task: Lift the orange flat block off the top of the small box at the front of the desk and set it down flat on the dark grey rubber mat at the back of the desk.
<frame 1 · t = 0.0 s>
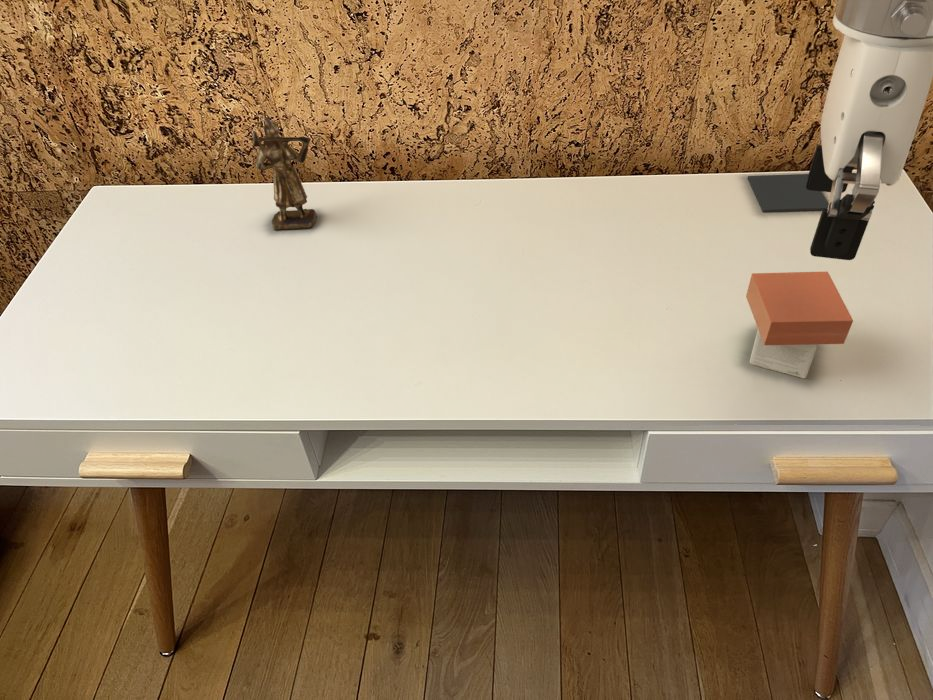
hand: (827, 221, 60), 19 cm above the table, tool pointing down, fingers open, 9 cm apart
mat: (787, 193, 97), on the table
small box: (780, 356, 76), on the table, touching orange flat block
figurine: (300, 223, 100), on the table
orange flat block: (792, 319, 72), point 5 cm above the table, touching small box
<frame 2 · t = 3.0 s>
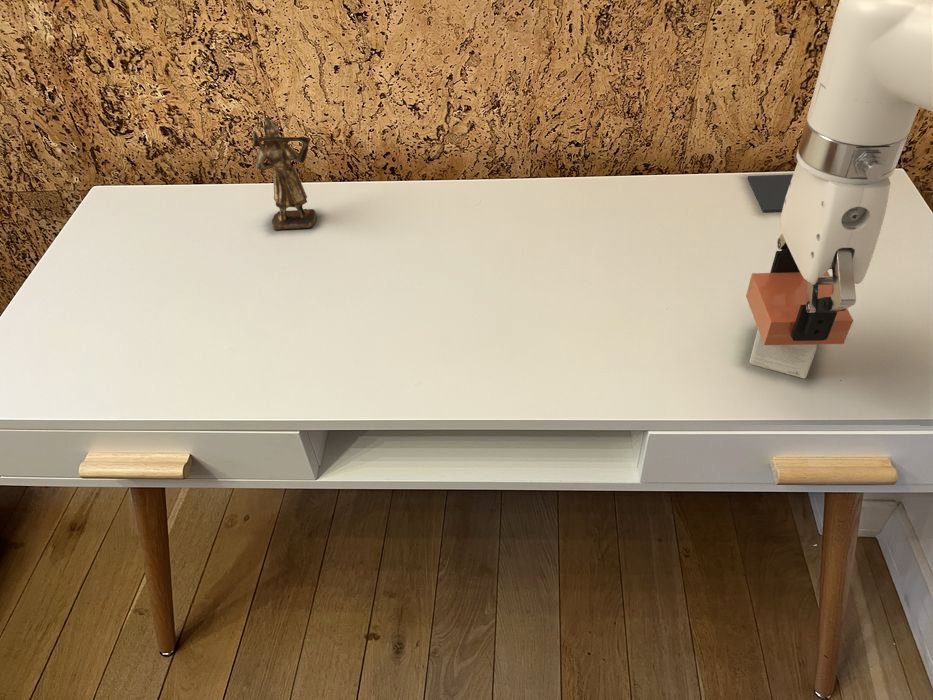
hand: (795, 309, 72), 6 cm above the table, tool pointing down, fingers closed on orange flat block, 7 cm apart
orange flat block: (792, 319, 72), point 5 cm above the table, touching gripper, small box
everything else where it was.
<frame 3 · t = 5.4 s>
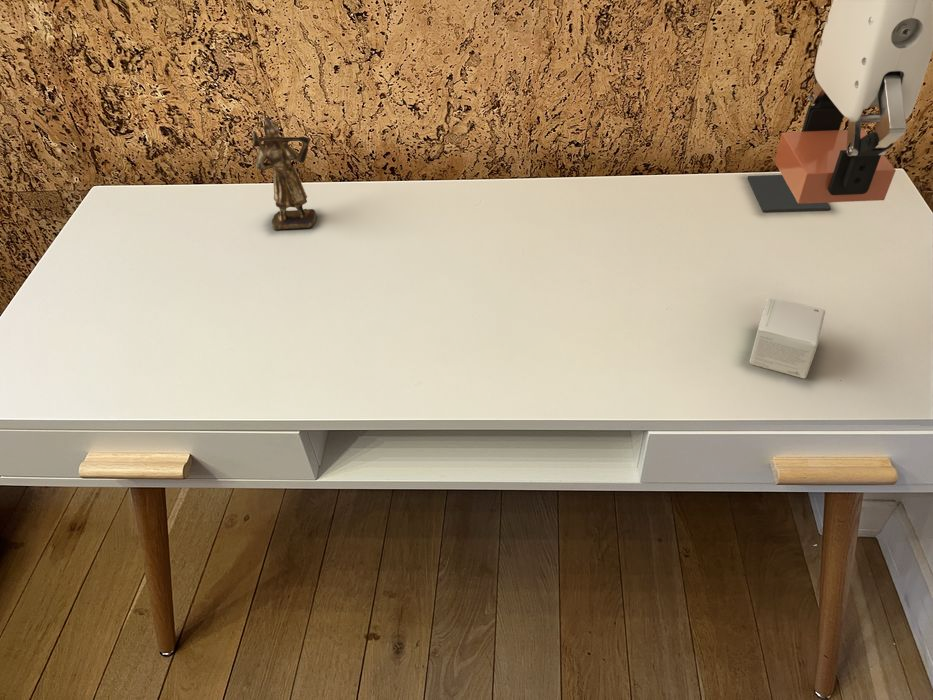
hand: (830, 167, 66), 19 cm above the table, tool pointing down, fingers closed on orange flat block, 7 cm apart
small box: (780, 356, 76), on the table
orange flat block: (826, 180, 67), point 18 cm above the table, touching gripper
everything else where it was.
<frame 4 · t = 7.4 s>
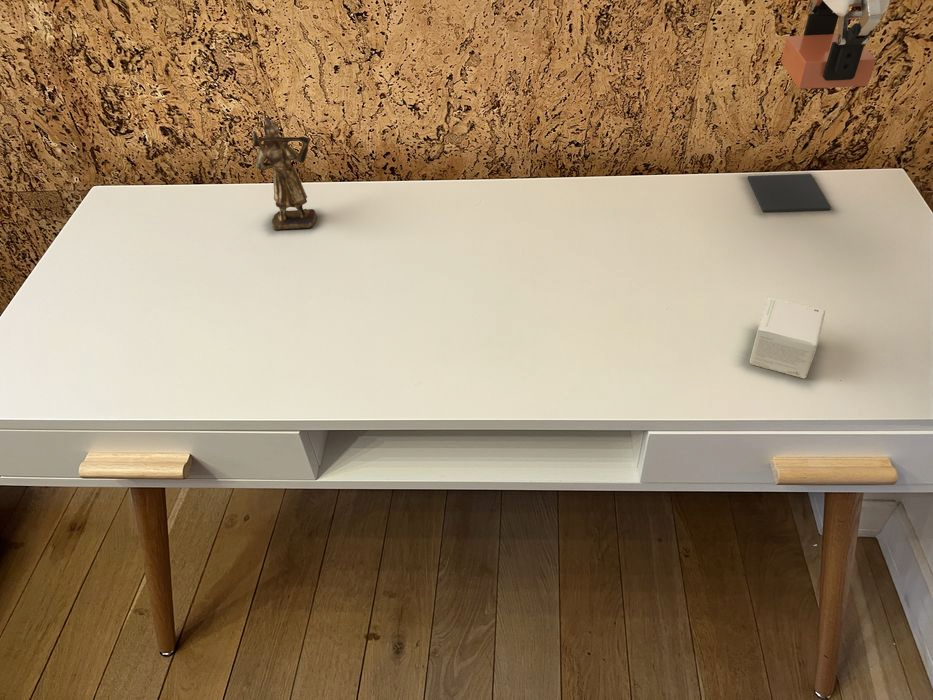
hand: (826, 62, 83), 18 cm above the table, tool pointing down, fingers closed on orange flat block, 7 cm apart
orange flat block: (822, 73, 84), point 17 cm above the table, touching gripper
everything else where it was.
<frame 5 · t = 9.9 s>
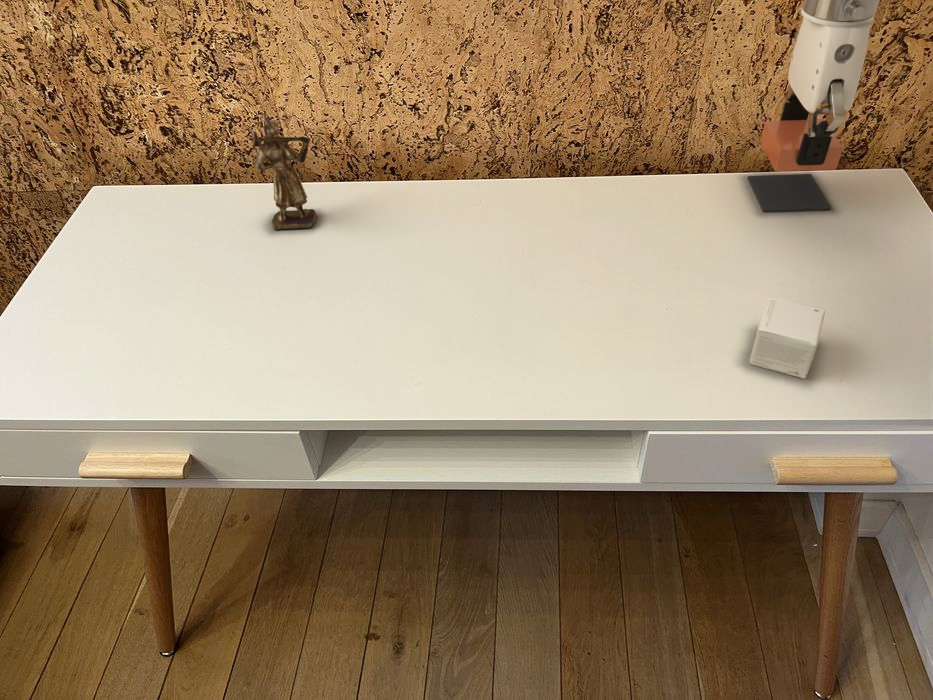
hand: (799, 146, 93), 7 cm above the table, tool pointing down, fingers closed on orange flat block, 7 cm apart
orange flat block: (796, 155, 93), point 6 cm above the table, touching gripper
everything else where it was.
when the fingers open (2 cm above the table, at t = 11.9 s): orange flat block stays where it is, resting on mat.
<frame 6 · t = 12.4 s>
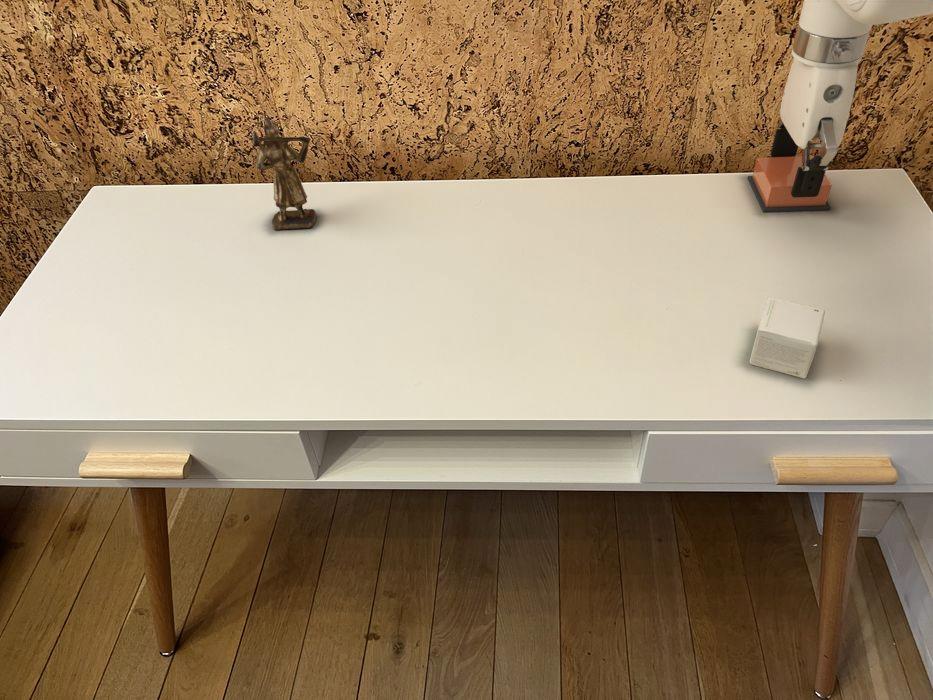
hand: (792, 175, 95), 3 cm above the table, tool pointing down, fingers open, 9 cm apart
orange flat block: (787, 191, 97), resting on mat
everything else where it was.
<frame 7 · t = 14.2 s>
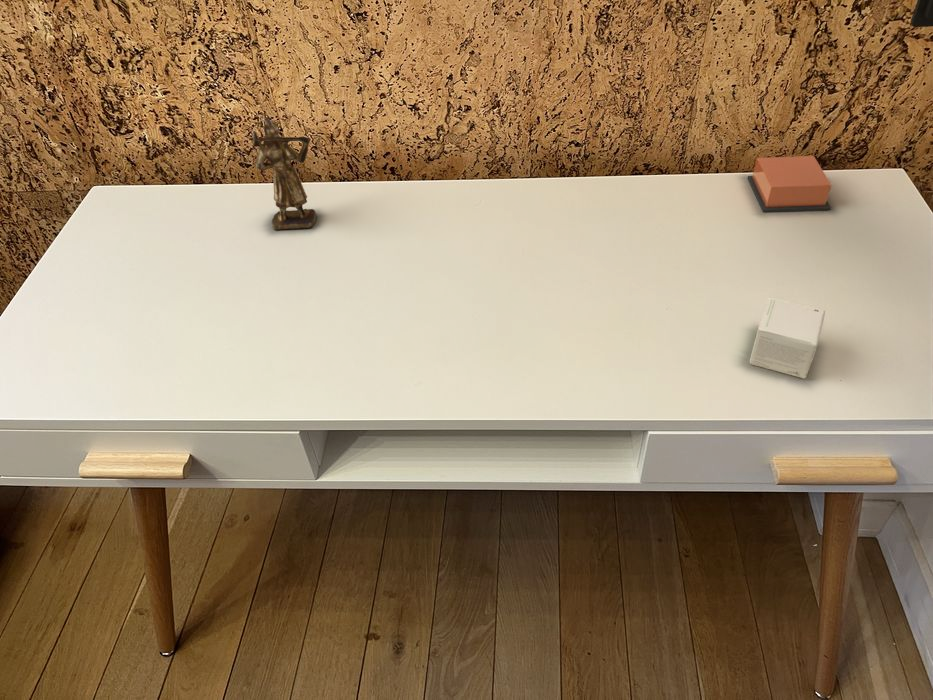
hand: (906, 9, 76), 25 cm above the table, tool pointing down, fingers open, 9 cm apart
nothing on the table moved.
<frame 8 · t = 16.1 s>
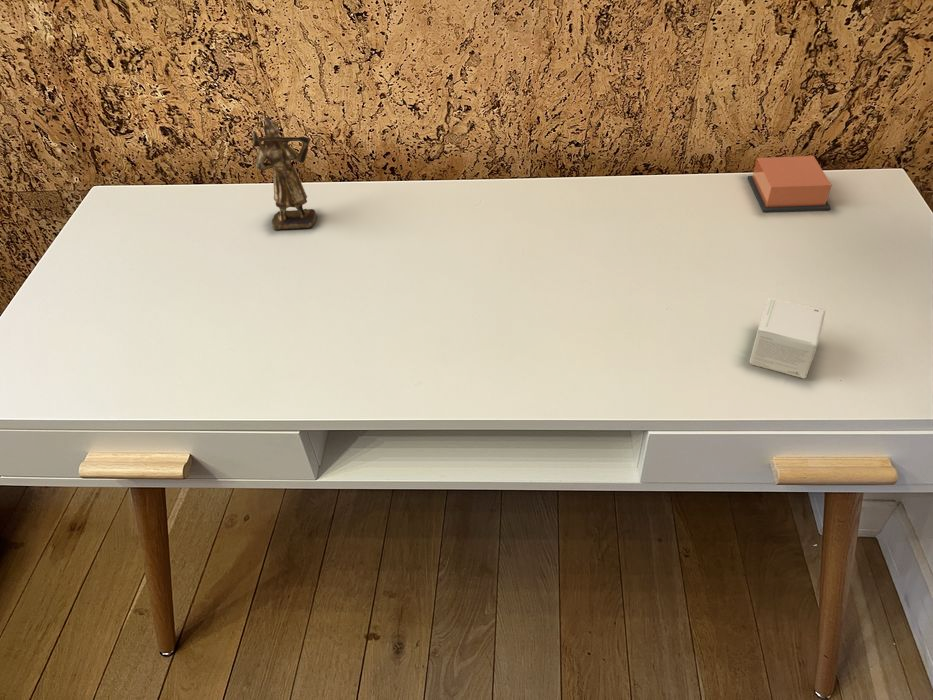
nothing on the table moved.
at the end: orange flat block 0.0 cm off-centre on the mat, point 0.4 cm above the mat's base; orange flat block touching mat; small box moved 0.2 cm from its start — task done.
